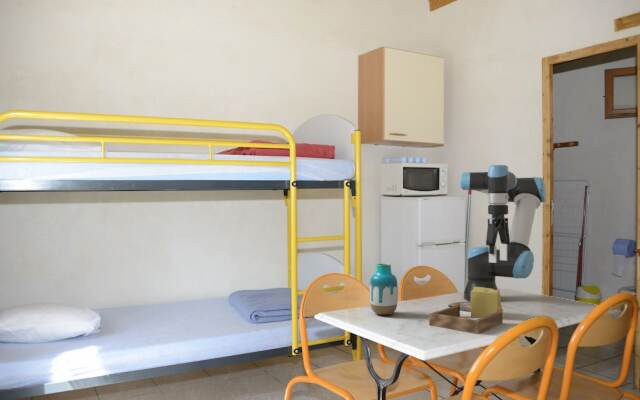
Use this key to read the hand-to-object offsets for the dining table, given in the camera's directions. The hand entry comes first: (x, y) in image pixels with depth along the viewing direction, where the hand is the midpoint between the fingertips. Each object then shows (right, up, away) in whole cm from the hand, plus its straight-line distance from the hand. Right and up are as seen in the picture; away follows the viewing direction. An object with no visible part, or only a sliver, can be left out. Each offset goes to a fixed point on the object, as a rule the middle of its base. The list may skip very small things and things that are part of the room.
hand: (498, 261), depth 210 cm
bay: (-18, -20, -21) cm, 34 cm away
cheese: (-7, -20, -8) cm, 23 cm away
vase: (-46, -20, -6) cm, 50 cm away
